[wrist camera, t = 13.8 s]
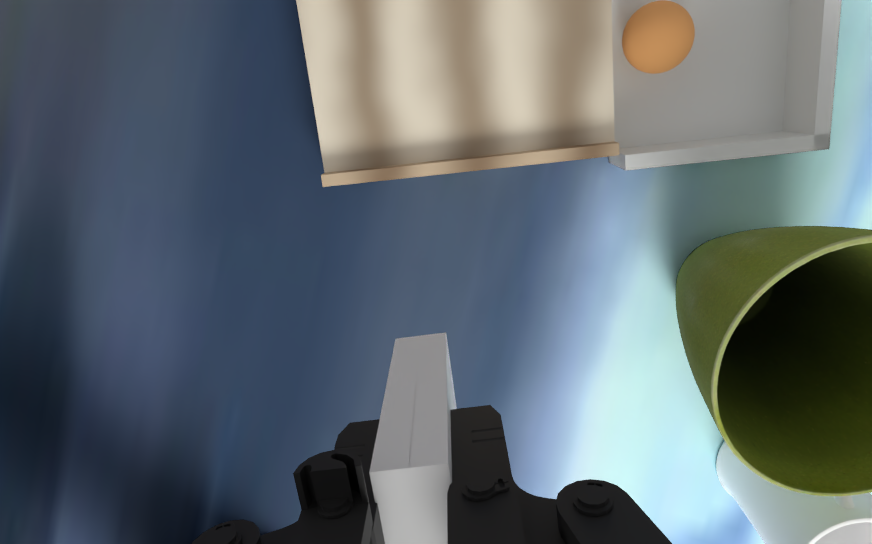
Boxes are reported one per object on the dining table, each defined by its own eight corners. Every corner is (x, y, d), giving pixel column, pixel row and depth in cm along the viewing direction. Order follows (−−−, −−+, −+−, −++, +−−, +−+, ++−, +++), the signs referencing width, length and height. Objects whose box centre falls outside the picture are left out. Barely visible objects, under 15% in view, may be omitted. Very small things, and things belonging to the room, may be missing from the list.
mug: (721, 383, 48) (803, 474, 37) (829, 378, 48) (946, 469, 37) (711, 503, 52) (784, 621, 40) (812, 500, 51) (913, 618, 40)
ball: (648, 75, 36) (710, 66, 37) (647, -3, 35) (710, -9, 36) (610, 79, 40) (666, 72, 41) (607, 10, 39) (665, 4, 40)
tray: (608, 162, 43) (625, 170, 39) (602, -83, 39) (621, -105, 34) (791, 142, 43) (829, 149, 38) (807, -111, 38) (852, -136, 34)
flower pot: (742, 140, 43) (901, 170, 27) (865, 276, 45) (1073, 372, 30) (588, 283, 46) (653, 379, 31) (711, 401, 49) (827, 543, 34)
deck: (334, 178, 44) (322, 186, 40) (302, -27, 40) (285, -40, 36) (604, 148, 43) (619, 155, 39) (598, -66, 39) (614, -83, 35)
